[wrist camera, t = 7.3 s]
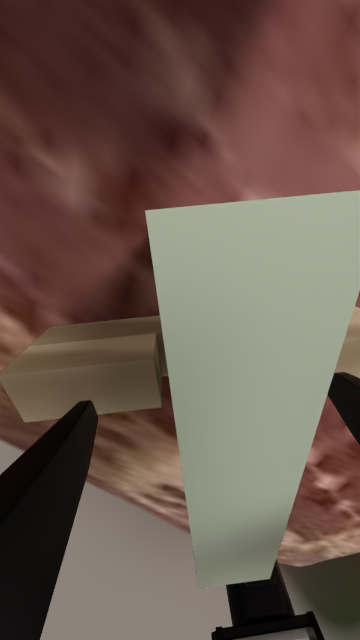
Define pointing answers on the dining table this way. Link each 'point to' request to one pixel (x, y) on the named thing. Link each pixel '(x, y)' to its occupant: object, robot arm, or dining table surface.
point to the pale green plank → (251, 359)
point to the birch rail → (108, 367)
